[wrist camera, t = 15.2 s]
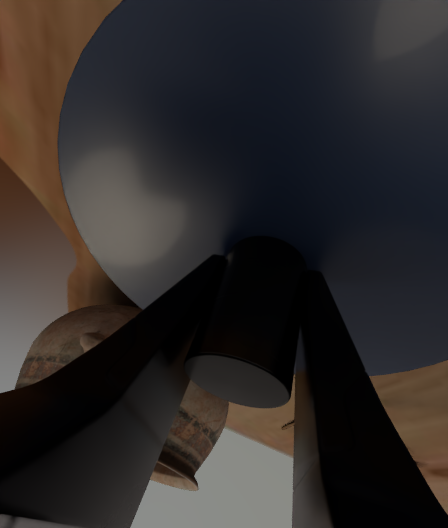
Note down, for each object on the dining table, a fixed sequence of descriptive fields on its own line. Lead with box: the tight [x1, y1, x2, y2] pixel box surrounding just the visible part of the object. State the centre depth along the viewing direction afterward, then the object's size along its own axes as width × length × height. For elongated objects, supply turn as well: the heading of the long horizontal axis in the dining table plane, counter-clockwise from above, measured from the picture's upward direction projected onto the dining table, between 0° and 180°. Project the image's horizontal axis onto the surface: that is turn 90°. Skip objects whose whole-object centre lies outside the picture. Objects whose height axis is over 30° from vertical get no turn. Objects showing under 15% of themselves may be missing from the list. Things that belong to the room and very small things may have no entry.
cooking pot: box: [15, 305, 229, 491], centre depth 28 cm, size 25×19×12 cm
